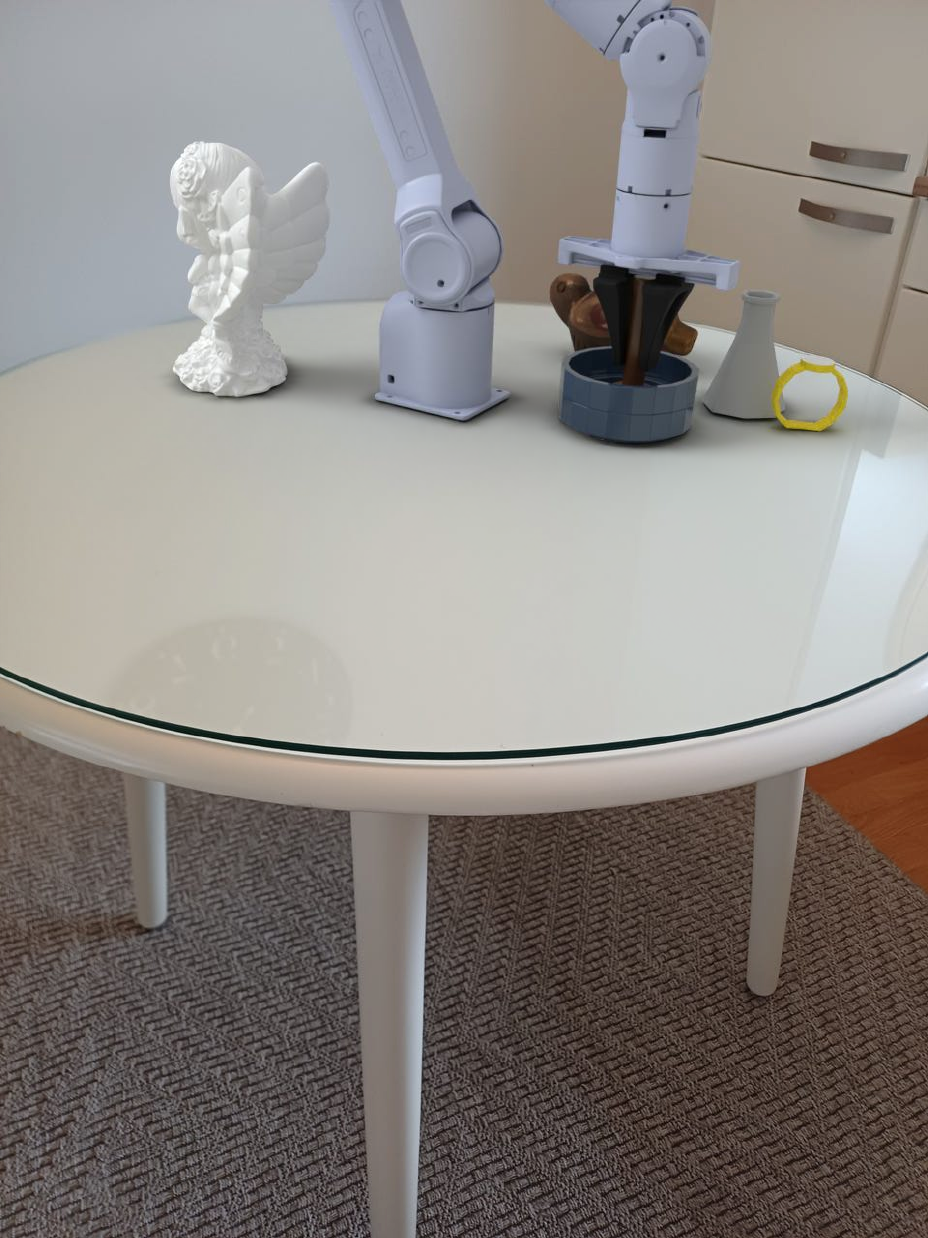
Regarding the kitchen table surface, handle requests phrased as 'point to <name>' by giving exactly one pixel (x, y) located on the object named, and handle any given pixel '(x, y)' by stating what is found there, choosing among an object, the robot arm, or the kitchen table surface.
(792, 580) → the kitchen table surface
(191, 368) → the cherub figurine
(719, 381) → the flask
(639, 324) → the brown wooden pestle
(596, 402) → the bowl
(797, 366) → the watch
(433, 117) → the robot arm
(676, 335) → the decorative turtle
